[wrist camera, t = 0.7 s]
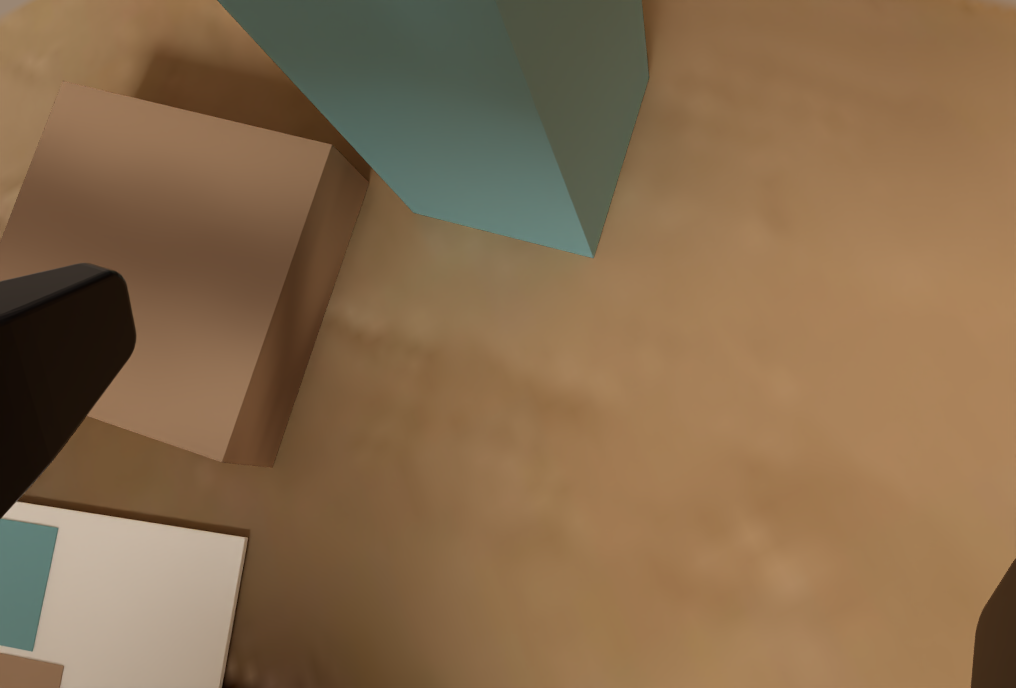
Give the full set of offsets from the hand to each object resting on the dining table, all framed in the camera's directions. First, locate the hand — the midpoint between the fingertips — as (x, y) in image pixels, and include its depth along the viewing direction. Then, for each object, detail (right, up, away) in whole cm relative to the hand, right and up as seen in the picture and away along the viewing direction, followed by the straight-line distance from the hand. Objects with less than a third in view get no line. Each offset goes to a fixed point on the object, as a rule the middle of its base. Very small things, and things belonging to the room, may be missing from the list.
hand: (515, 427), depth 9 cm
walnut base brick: (-9, +2, +16) cm, 19 cm away
